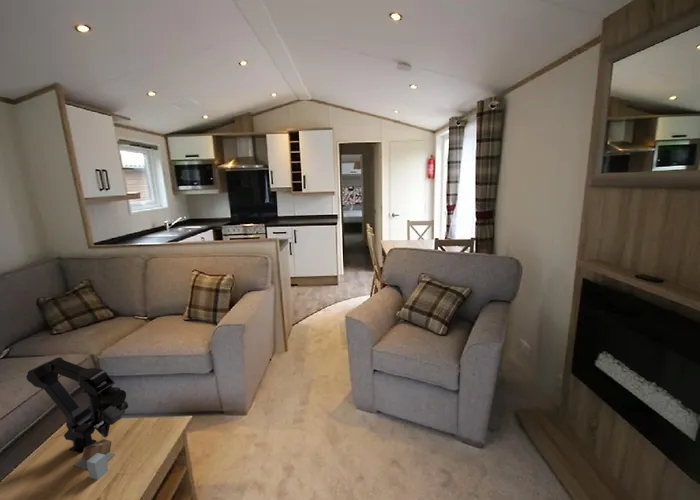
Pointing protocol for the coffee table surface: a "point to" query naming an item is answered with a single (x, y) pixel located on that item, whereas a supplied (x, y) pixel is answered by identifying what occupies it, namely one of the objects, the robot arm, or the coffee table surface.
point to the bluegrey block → (97, 466)
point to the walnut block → (96, 449)
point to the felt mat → (83, 463)
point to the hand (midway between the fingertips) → (105, 436)
